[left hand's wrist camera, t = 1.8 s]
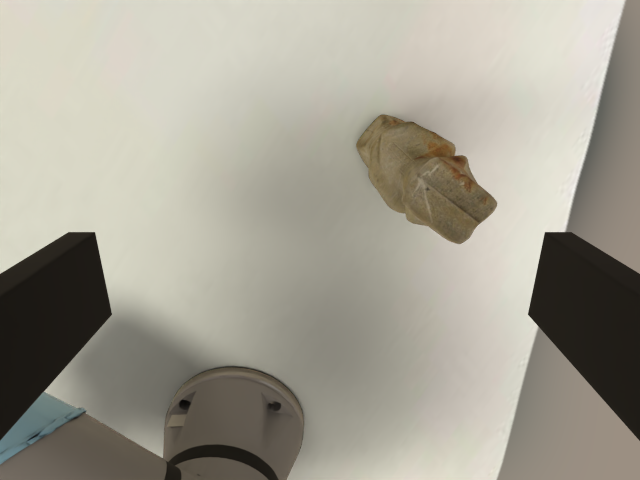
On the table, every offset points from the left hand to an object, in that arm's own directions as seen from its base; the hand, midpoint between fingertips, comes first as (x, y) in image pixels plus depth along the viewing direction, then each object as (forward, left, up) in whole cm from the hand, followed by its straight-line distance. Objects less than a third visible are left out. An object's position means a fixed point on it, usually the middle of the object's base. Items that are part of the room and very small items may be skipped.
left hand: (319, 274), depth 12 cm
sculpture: (0, -7, -26) cm, 27 cm away
